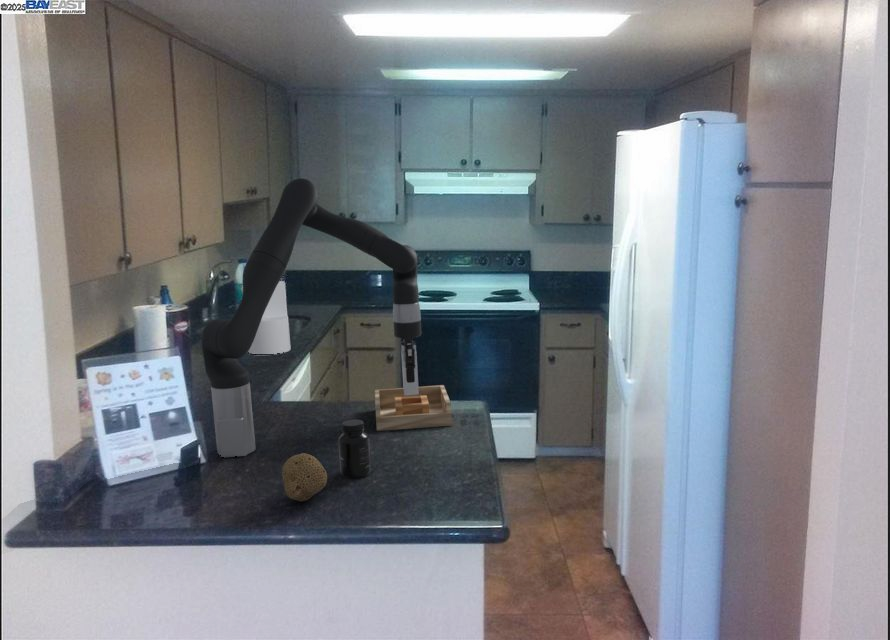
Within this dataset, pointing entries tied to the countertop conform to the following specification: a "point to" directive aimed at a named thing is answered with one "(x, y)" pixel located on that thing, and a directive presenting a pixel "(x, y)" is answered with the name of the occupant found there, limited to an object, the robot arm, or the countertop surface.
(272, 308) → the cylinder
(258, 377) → the countertop surface
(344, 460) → the supplement bottle
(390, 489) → the countertop surface
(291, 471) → the natural sponge
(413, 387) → the connector peg
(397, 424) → the walled box
